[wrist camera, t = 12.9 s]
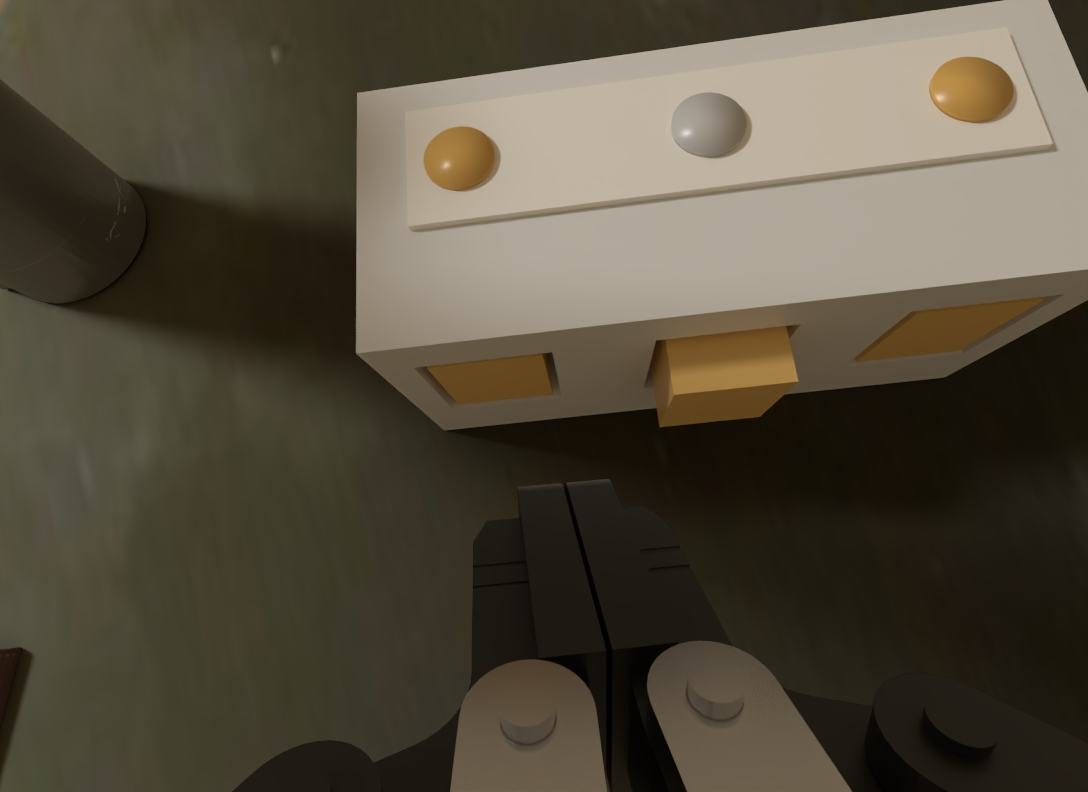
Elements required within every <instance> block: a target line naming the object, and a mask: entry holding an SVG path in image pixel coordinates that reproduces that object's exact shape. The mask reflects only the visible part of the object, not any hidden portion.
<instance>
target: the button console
mask: <svg viewBox="0 0 1088 792" xmlns="http://www.w3.org/2000/svg"><path fill="white" fill-rule="evenodd" d="M1037 297H1043V298H1044V300H1043V301H1041V302H1040V303H1038V304H1036V305H1034V306H1033V307H1031V308H1029V309H1028V310H1026V311H1024V312H1023V313H1021V314H1019V315H1018V316H1016V317H1014V318H1013V319H1011V320H1009V321H1008V322H1006V323H1004V324H1002V325H1001V326H999V327H997V328H996V329H994V330H992V331H991V332H989V333H987V334H986V335H984V336H982V337H981V338H979V339H977V340H976V341H974V342H972V343H971V344H969V345H967V346H965V347H964V348H962V349H960V350H959V351H951V352H942V353H933V354H924V355H915V356H905V357H896V358H887V359H878V360H868V361H859V362H856V360H855V357H856V356H857V355H858V354H859V353H861V352H862V351H863V350H864V349H866V348H867V347H868V346H869V345H871V344H872V343H873V342H874V341H876V340H877V339H878V338H879V337H880V336H882V335H883V334H884V333H885V332H887V331H888V330H889V329H890V328H892V327H893V326H894V325H895V324H897V323H898V322H899V321H900V320H902V319H903V318H904V317H905V316H906V315H908V314H909V313H910V312H913V311H921V310H930V309H939V308H948V307H957V306H966V305H975V304H983V303H992V302H1001V301H1010V300H1019V299H1028V298H1037ZM1087 300H1088V93H1087V90H1086V88H1085V86H1084V83H1083V81H1082V79H1081V76H1080V74H1079V72H1078V69H1077V67H1076V65H1075V63H1074V60H1073V58H1072V56H1071V53H1070V51H1069V49H1068V46H1067V44H1066V42H1065V39H1064V37H1063V35H1062V32H1061V30H1060V28H1059V25H1058V23H1057V21H1056V18H1055V16H1054V14H1053V12H1052V9H1051V7H1050V5H1049V2H1048V0H1004V1H997V2H990V3H983V4H976V5H969V6H962V7H955V8H948V9H941V10H934V11H927V12H920V13H914V14H907V15H900V16H893V17H886V18H879V19H872V20H865V21H858V22H851V23H844V24H837V25H830V26H823V27H816V28H809V29H802V30H795V31H788V32H781V33H774V34H767V35H760V36H753V37H746V38H739V39H732V40H725V41H718V42H711V43H704V44H697V45H690V46H683V47H676V48H669V49H662V50H655V51H648V52H641V53H634V54H627V55H620V56H613V57H606V58H599V59H592V60H585V61H578V62H571V63H564V64H557V65H550V66H543V67H536V68H529V69H522V70H515V71H508V72H501V73H494V74H487V75H480V76H473V77H466V78H459V79H452V80H445V81H438V82H431V83H424V84H417V85H410V86H403V87H396V88H389V89H382V90H375V91H368V92H361V93H357V242H356V354H357V355H358V356H359V357H361V358H362V359H363V360H364V361H365V362H366V363H367V364H369V365H370V366H371V367H372V368H373V369H374V370H375V371H377V372H378V373H379V374H380V375H381V376H382V377H383V378H385V379H386V380H387V381H388V382H389V383H390V384H392V385H393V386H394V387H395V388H396V389H397V390H398V391H400V392H401V393H402V394H403V395H404V396H405V397H406V398H408V399H409V400H410V401H411V402H412V403H413V404H414V405H416V406H417V407H418V408H419V409H420V410H421V411H423V412H424V413H425V414H426V415H427V416H428V417H429V418H431V419H432V420H433V421H434V422H435V423H436V424H437V425H439V426H440V427H441V428H442V429H443V430H454V429H463V428H473V427H482V426H491V425H501V424H510V423H520V422H529V421H539V420H548V419H558V418H567V417H577V416H586V415H595V414H605V413H614V412H624V411H633V410H643V409H652V408H657V407H656V400H655V393H654V386H653V379H652V373H651V366H650V363H651V359H652V355H653V351H654V347H655V344H656V340H665V339H673V338H682V337H691V336H700V335H709V334H718V333H727V332H735V331H744V330H753V329H762V328H771V327H780V326H786V327H787V332H788V336H789V341H790V345H791V350H792V354H793V359H794V363H795V368H796V372H797V377H798V382H797V383H796V384H795V385H794V386H793V387H792V388H791V389H790V390H789V391H788V392H787V393H785V394H794V393H803V392H813V391H822V390H832V389H841V388H850V387H860V386H869V385H879V384H888V383H898V382H907V381H917V380H926V379H935V378H944V377H946V376H948V375H950V374H952V373H954V372H956V371H957V370H959V369H961V368H963V367H965V366H967V365H968V364H970V363H972V362H974V361H976V360H978V359H980V358H981V357H983V356H985V355H987V354H989V353H991V352H993V351H994V350H996V349H998V348H1000V347H1002V346H1004V345H1005V344H1007V343H1009V342H1011V341H1013V340H1015V339H1017V338H1018V337H1020V336H1022V335H1024V334H1026V333H1028V332H1030V331H1031V330H1033V329H1035V328H1037V327H1039V326H1041V325H1042V324H1044V323H1046V322H1048V321H1050V320H1052V319H1054V318H1055V317H1057V316H1059V315H1061V314H1063V313H1065V312H1067V311H1068V310H1070V309H1072V308H1074V307H1076V306H1078V305H1079V304H1081V303H1083V302H1085V301H1087ZM541 353H549V361H550V372H551V382H552V393H553V394H550V395H541V396H532V397H523V398H513V399H504V400H495V401H486V402H477V403H467V404H458V403H457V402H456V401H455V400H454V399H453V398H452V396H451V395H450V394H449V393H448V392H447V391H446V390H445V388H444V387H443V386H442V385H441V384H440V383H439V382H438V380H437V379H436V378H435V377H434V376H433V375H432V374H431V372H430V371H429V370H428V369H427V366H434V365H443V364H452V363H461V362H470V361H479V360H487V359H496V358H505V357H514V356H523V355H532V354H541Z"/></svg>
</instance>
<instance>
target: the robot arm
mask: <svg viewBox="0 0 1088 792" xmlns="http://www.w3.org/2000/svg"><path fill="white" fill-rule="evenodd" d="M145 229H146V212H145V208H144V204H143V202H142V200H141V198H140V196H139V194H138V193H137V191H136V190H135V189H133V188H132V187H131V186H130V185H129V184H128V183H127V182H126V181H125V180H123V179H122V178H121V177H120V176H118V175H117V174H116V173H115V172H114V171H112V170H111V169H110V168H109V167H107V166H106V165H105V164H104V163H102V162H101V161H100V160H99V159H97V158H96V157H95V156H94V155H93V154H91V153H90V152H89V151H88V150H86V149H85V148H84V147H83V146H82V145H80V144H79V143H78V142H77V141H76V140H74V139H73V138H72V137H71V136H70V135H68V134H67V133H66V132H65V131H63V130H62V129H61V128H60V127H58V126H57V125H56V124H55V123H53V122H52V121H51V120H50V119H49V118H47V117H46V116H45V115H44V114H42V113H41V112H40V111H39V110H37V109H36V108H35V107H34V106H32V105H31V104H30V103H29V102H28V101H26V100H25V99H24V98H23V97H21V96H20V95H19V94H18V93H16V92H15V91H14V90H13V89H11V88H10V87H9V86H8V85H7V84H5V83H4V82H3V81H2V80H0V288H1V289H9V288H11V289H14V290H16V291H18V292H20V293H22V294H24V295H26V296H28V297H31V298H33V299H36V300H39V301H42V302H47V303H57V304H58V303H67V302H74V301H77V300H80V299H84V298H87V297H89V296H91V295H93V294H95V293H97V292H99V291H101V290H103V289H104V288H106V287H107V286H108V285H110V284H111V283H112V282H114V281H115V280H116V279H117V278H118V277H119V276H120V275H121V274H122V273H123V272H124V271H125V270H126V269H127V268H128V266H129V265H130V264H131V262H132V261H133V259H134V258H135V256H136V255H137V253H138V250H139V248H140V246H141V244H142V242H143V238H144V234H145ZM518 508H519V518H515V519H504V520H493V521H487V522H486V523H485V525H484V526H483V528H482V530H481V531H480V533H479V534H478V536H477V537H476V539H475V540H474V542H473V608H472V675H471V684H470V687H469V691H468V694H467V695H466V697H465V699H464V702H463V704H462V705H461V707H460V708H459V710H458V711H457V713H456V714H455V715H454V716H453V717H452V719H451V720H450V721H449V722H448V723H447V724H446V725H445V726H443V727H442V728H441V729H440V730H439V731H438V732H436V733H435V734H433V735H432V736H430V737H429V738H427V739H425V740H424V741H422V742H420V743H418V744H416V745H414V746H411V747H409V748H407V749H405V750H402V751H400V752H398V753H395V754H393V755H391V756H388V757H386V758H384V759H382V760H379V761H377V762H375V763H373V762H372V760H371V759H370V757H369V756H368V755H367V754H366V753H364V752H363V751H362V750H361V749H359V748H357V747H355V746H353V745H352V744H348V743H345V742H341V741H330V740H327V741H316V742H311V743H307V744H303V745H300V746H297V747H294V748H292V749H289V750H287V751H285V752H283V753H281V754H279V755H277V756H276V757H274V758H273V759H271V760H269V761H268V762H266V763H265V764H263V765H262V766H261V767H260V768H258V769H257V770H256V771H255V772H254V773H252V774H251V775H250V776H249V777H248V778H247V779H246V780H245V781H243V782H242V783H241V784H240V785H239V786H238V787H237V788H236V789H235V790H234V791H232V792H607V788H606V774H607V779H608V783H609V788H610V792H1088V743H1086V742H1084V741H1082V740H1080V739H1078V738H1076V737H1074V736H1072V735H1069V734H1067V733H1065V732H1063V731H1061V730H1059V729H1057V728H1055V727H1053V726H1051V725H1049V724H1047V723H1045V722H1043V721H1041V720H1039V719H1037V718H1035V717H1033V716H1030V715H1028V714H1026V713H1024V712H1022V711H1020V710H1018V709H1016V708H1014V707H1012V706H1010V705H1008V704H1006V703H1004V702H1002V701H1000V700H998V699H996V698H993V697H991V696H989V695H987V694H985V693H983V692H981V691H979V690H977V689H975V688H973V687H970V686H968V685H966V684H964V683H961V682H958V681H955V680H952V679H949V678H946V677H941V676H937V675H932V674H923V673H909V674H903V675H898V676H895V677H893V678H890V679H889V680H887V681H886V682H884V683H883V684H882V685H881V686H880V688H879V689H878V690H877V693H876V695H875V697H874V702H873V706H867V705H861V704H855V703H849V702H843V701H837V700H831V699H825V698H819V697H813V696H809V695H804V694H800V693H797V692H794V691H791V690H788V689H786V688H783V687H781V685H780V684H779V682H778V681H777V680H776V678H775V677H774V676H773V674H772V673H771V672H770V671H769V670H768V669H767V668H766V667H765V666H764V665H763V664H762V663H761V662H759V661H758V660H757V659H755V658H754V657H753V656H751V655H749V654H747V653H746V652H744V651H742V650H740V649H737V648H735V647H733V646H732V644H731V643H730V641H729V639H728V637H727V635H726V633H725V631H724V629H723V627H722V626H721V624H720V622H719V620H718V618H717V616H716V614H715V612H714V610H713V608H712V607H711V605H710V603H709V601H708V599H707V597H706V595H705V593H704V591H703V590H702V588H701V586H700V584H699V582H698V580H697V578H696V576H695V574H694V572H693V571H692V569H690V567H689V563H688V561H687V559H686V557H685V555H684V554H683V552H682V550H680V548H679V544H678V542H677V540H676V538H675V536H674V535H673V533H672V531H671V529H670V527H669V525H668V524H667V523H666V522H665V521H664V520H662V519H661V518H660V517H658V516H657V515H656V514H654V513H653V512H652V511H651V510H649V509H648V508H647V507H634V508H622V506H621V504H620V501H619V499H618V496H617V494H616V492H615V489H614V487H613V484H612V482H611V480H610V479H602V480H590V481H579V482H567V483H565V484H564V488H563V485H562V483H558V484H546V485H534V486H523V487H518Z"/></svg>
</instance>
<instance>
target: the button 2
mask: <svg viewBox="0 0 1088 792" xmlns="http://www.w3.org/2000/svg"><path fill="white" fill-rule="evenodd" d="M1043 300H1044V298H1043V297H1037V298H1028V299H1019V300H1010V301H1001V302H992V303H983V304H975V305H966V306H957V307H948V308H939V309H930V310H921V311H913V312H910V313H909V314H908V315H906V316H905V317H904V318H903V319H902V320H900V321H899V322H898V323H897V324H895V325H894V326H893V327H892V328H890V329H889V330H888V331H887V332H885V333H884V334H883V335H882V336H880V337H879V338H878V339H877V340H876V341H874V342H873V343H872V344H871V345H869V346H868V347H867V348H866V349H864V350H863V351H862V352H861V353H859V354H858V355H857V356H856V357H855V360H856V362H859V361H868V360H878V359H887V358H896V357H905V356H915V355H924V354H933V353H942V352H951V351H959V350H960V349H962V348H964V347H965V346H967V345H969V344H971V343H972V342H974V341H976V340H977V339H979V338H981V337H982V336H984V335H986V334H987V333H989V332H991V331H992V330H994V329H996V328H997V327H999V326H1001V325H1002V324H1004V323H1006V322H1008V321H1009V320H1011V319H1013V318H1014V317H1016V316H1018V315H1019V314H1021V313H1023V312H1024V311H1026V310H1028V309H1029V308H1031V307H1033V306H1034V305H1036V304H1038V303H1040V302H1041V301H1043Z"/></svg>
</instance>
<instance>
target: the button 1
mask: <svg viewBox="0 0 1088 792" xmlns="http://www.w3.org/2000/svg"><path fill="white" fill-rule="evenodd" d="M427 369H428V370H429V371H430V372H431V374H432V375H433V376H434V377H435V378H436V379H437V380H438V382H439V383H440V384H441V385H442V386H443V387H444V388H445V390H446V391H447V392H448V393H449V394H450V395H451V396H452V398H453V399H454V400H455V401H456V402H457V403H458V404H467V403H477V402H486V401H495V400H504V399H513V398H523V397H532V396H541V395H550V394H553V393H552V382H551V372H550V361H549V353H541V354H532V355H523V356H514V357H505V358H496V359H487V360H479V361H470V362H461V363H452V364H443V365H434V366H427Z"/></svg>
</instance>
